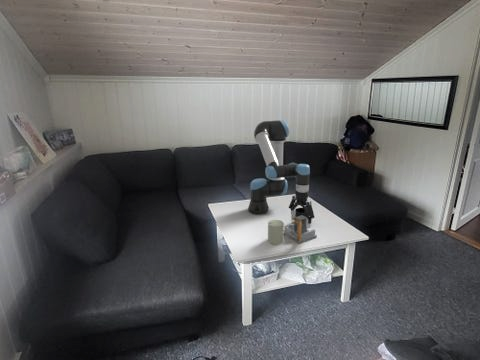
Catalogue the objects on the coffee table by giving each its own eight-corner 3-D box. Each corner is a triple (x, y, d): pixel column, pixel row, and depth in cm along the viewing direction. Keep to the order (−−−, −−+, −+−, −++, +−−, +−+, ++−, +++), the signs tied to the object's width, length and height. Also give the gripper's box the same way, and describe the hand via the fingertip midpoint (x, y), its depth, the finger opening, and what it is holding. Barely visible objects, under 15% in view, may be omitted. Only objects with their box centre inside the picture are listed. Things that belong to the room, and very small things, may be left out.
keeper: (281, 232, 183) (282, 212, 179) (298, 227, 190) (299, 207, 186) (299, 243, 170) (299, 222, 166) (316, 237, 177) (318, 216, 173)
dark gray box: (293, 232, 180) (294, 217, 177) (301, 229, 183) (301, 215, 180) (299, 235, 176) (299, 220, 173) (306, 232, 179) (307, 217, 176)
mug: (314, 225, 192) (315, 212, 190) (296, 226, 191) (297, 213, 188) (309, 219, 201) (310, 206, 199) (292, 220, 200) (293, 208, 197)
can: (266, 237, 178) (266, 219, 174) (281, 236, 178) (281, 218, 175) (269, 245, 169) (269, 226, 165) (284, 244, 170) (285, 225, 166)
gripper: (283, 186, 180) (282, 218, 187) (312, 198, 160) (310, 233, 166) (292, 184, 184) (291, 215, 190) (322, 195, 164) (320, 230, 170)
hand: (300, 224), depth 178 cm, fingers open, 13 cm apart
